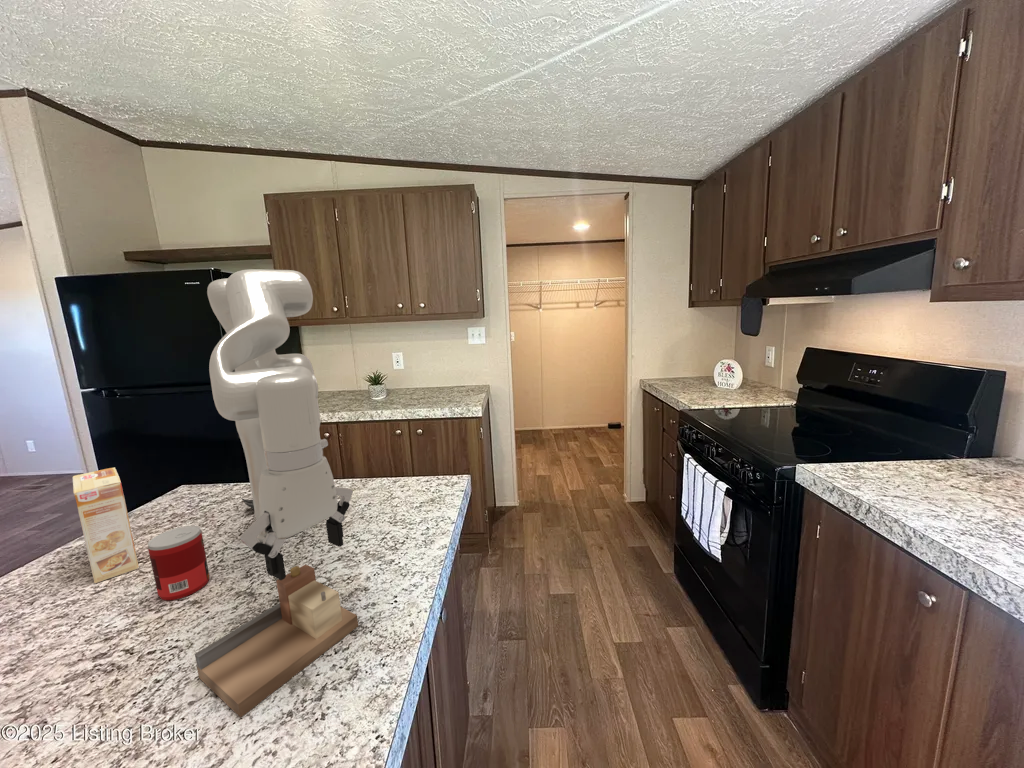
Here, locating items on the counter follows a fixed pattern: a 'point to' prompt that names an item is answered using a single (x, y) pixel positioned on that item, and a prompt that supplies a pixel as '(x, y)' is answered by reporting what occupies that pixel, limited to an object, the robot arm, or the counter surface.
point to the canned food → (178, 562)
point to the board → (263, 657)
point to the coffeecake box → (105, 523)
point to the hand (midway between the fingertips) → (308, 559)
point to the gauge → (308, 602)
